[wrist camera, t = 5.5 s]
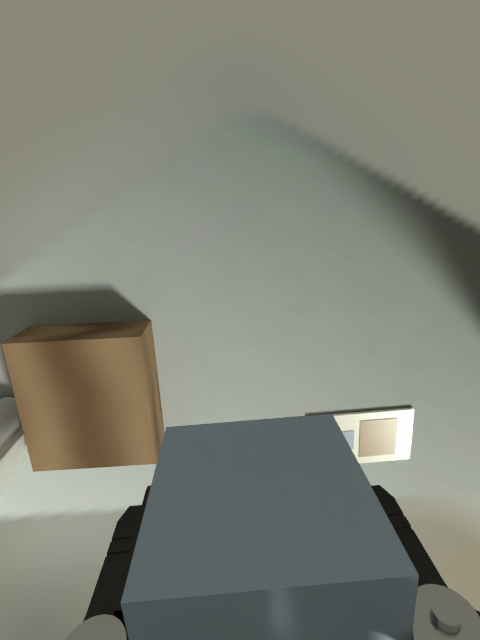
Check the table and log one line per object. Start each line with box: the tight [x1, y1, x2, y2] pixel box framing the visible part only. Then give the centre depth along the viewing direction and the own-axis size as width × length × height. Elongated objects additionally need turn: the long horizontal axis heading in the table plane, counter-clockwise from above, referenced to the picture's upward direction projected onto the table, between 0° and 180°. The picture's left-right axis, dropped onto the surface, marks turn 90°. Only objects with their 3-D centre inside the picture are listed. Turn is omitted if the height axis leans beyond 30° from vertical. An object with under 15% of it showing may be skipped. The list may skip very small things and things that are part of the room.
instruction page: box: [333, 407, 414, 463], centre depth 31 cm, size 9×5×1 cm, turn 94°
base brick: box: [1, 320, 164, 472], centre depth 27 cm, size 9×10×4 cm
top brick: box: [121, 414, 419, 640], centre depth 9 cm, size 5×5×5 cm
